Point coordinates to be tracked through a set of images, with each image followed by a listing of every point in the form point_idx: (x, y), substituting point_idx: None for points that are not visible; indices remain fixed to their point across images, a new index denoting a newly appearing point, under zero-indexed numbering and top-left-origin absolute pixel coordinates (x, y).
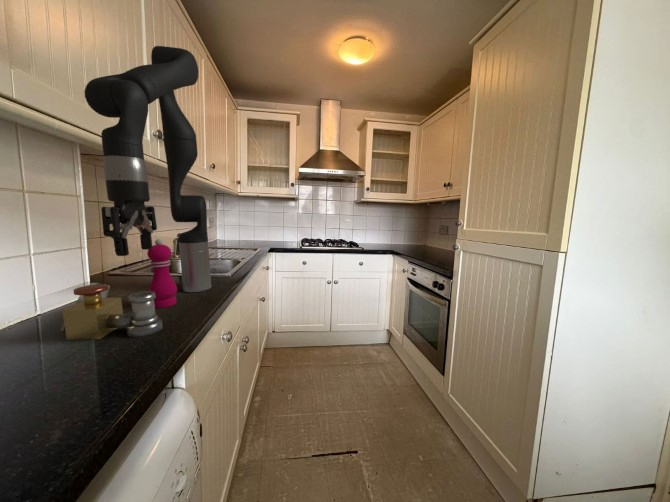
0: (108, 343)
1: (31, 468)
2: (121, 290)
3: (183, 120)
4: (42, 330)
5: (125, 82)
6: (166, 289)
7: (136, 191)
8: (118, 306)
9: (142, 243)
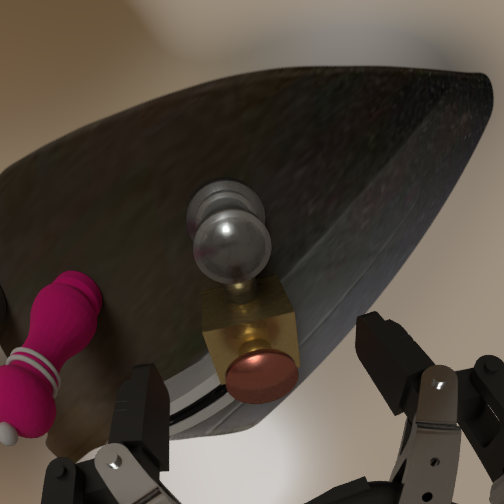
0: (292, 240)
1: (483, 109)
2: (71, 421)
3: None
4: None
5: None
6: (70, 299)
7: None
8: (215, 316)
9: (165, 417)
